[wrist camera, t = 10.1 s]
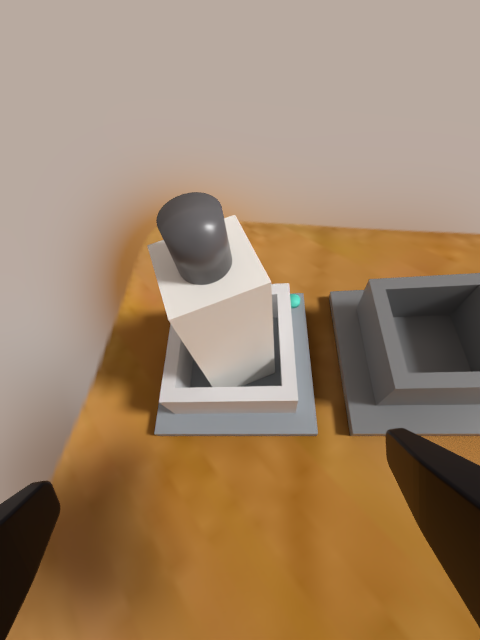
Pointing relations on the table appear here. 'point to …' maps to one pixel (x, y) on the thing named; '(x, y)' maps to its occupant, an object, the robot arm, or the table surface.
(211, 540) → the table surface
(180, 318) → the plug
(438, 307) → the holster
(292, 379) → the port panel
